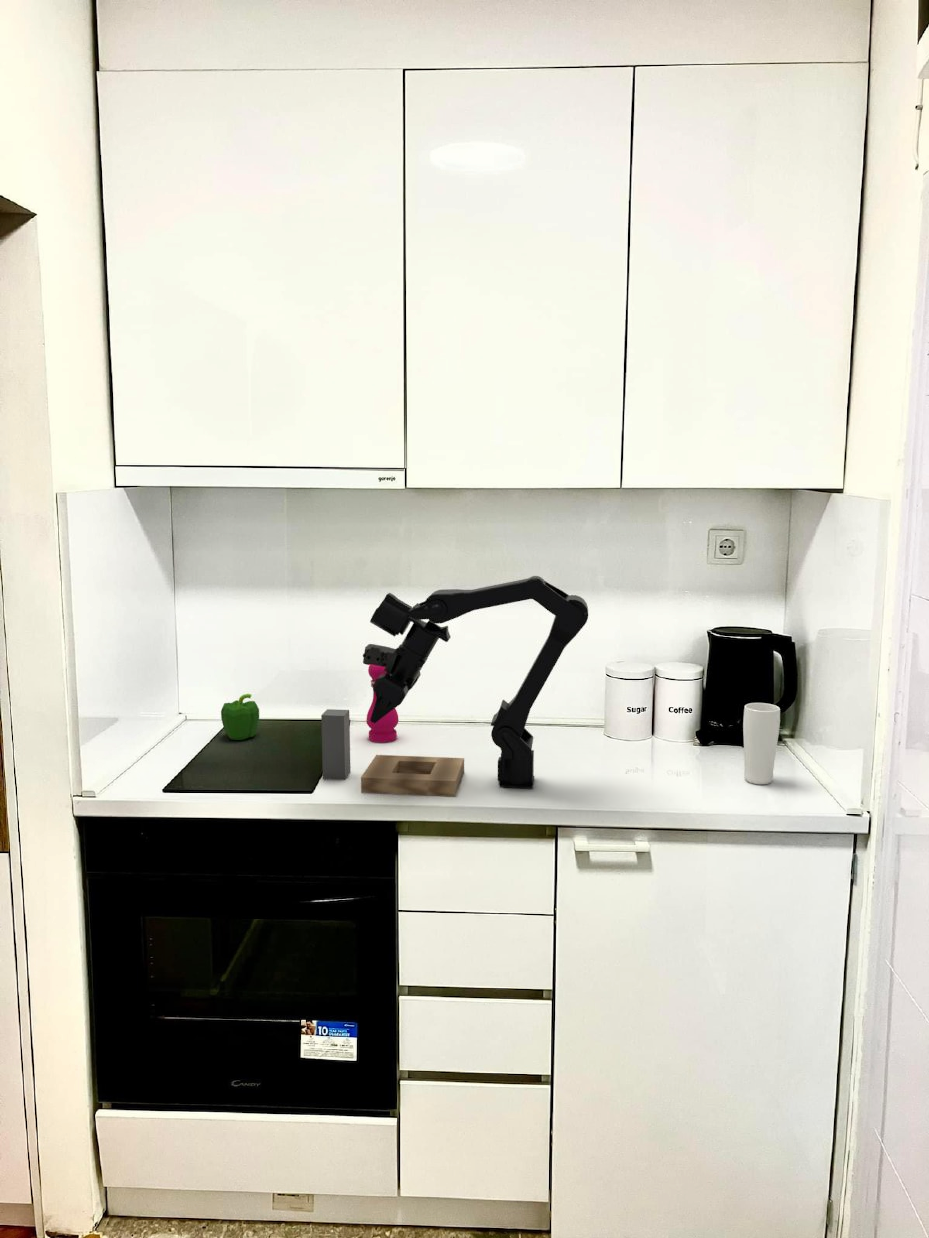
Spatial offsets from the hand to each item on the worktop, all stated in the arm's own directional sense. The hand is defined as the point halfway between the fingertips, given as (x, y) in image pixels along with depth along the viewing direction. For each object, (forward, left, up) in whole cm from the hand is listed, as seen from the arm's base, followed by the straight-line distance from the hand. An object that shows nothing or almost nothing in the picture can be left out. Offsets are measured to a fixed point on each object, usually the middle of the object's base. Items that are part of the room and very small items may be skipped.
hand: (377, 715), depth 190 cm
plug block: (+8, 0, -13) cm, 15 cm away
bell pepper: (+36, -23, -13) cm, 45 cm away
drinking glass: (-75, -7, -13) cm, 76 cm away
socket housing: (-8, +2, -13) cm, 15 cm away
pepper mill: (+4, -26, -13) cm, 29 cm away
